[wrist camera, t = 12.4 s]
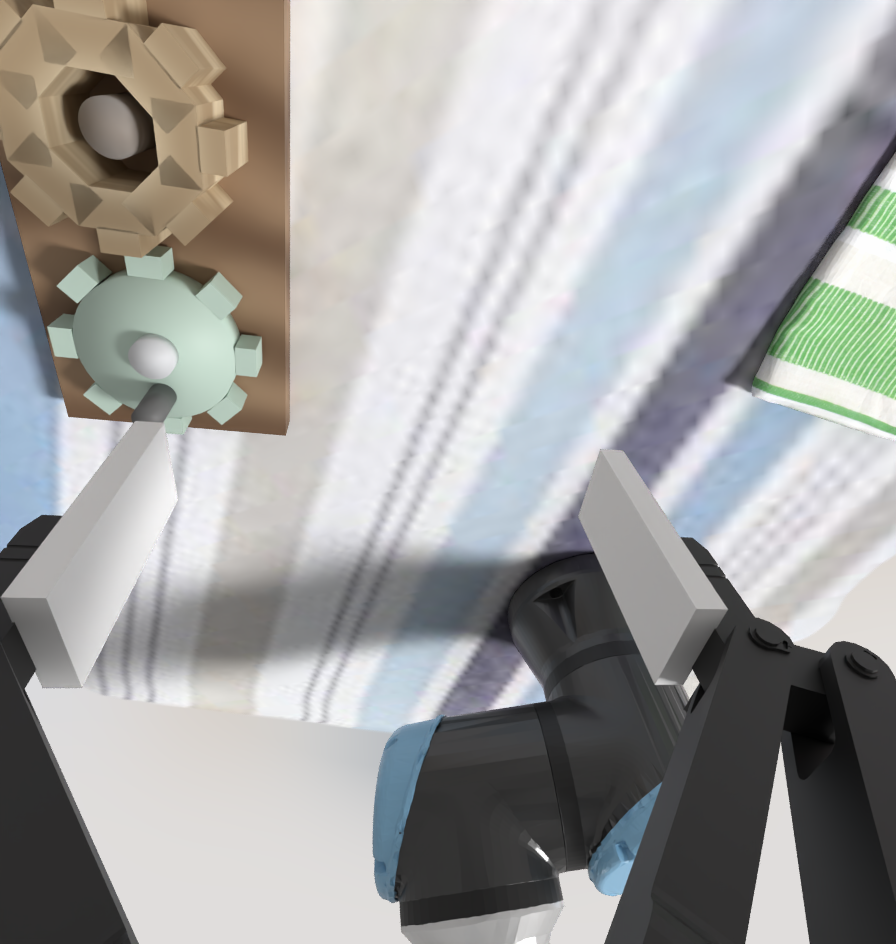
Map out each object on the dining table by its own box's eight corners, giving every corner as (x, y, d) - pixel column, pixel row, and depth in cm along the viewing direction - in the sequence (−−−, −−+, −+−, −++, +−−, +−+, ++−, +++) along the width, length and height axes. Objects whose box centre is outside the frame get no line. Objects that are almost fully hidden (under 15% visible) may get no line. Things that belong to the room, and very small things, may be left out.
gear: (264, 425, 38) (250, 467, 34) (86, 409, 36) (50, 452, 32) (259, 259, 32) (241, 288, 28) (43, 229, 30) (-10, 255, 26)
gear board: (289, 421, 41) (277, 468, 36) (81, 402, 38) (38, 450, 33) (290, -54, 26) (269, -81, 21) (-51, -135, 23) (-163, -186, 19)
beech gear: (251, 244, 31) (232, 270, 27) (53, 215, 30) (2, 239, 26) (242, 15, 26) (217, 6, 22) (-5, -37, 24) (-83, -58, 20)
